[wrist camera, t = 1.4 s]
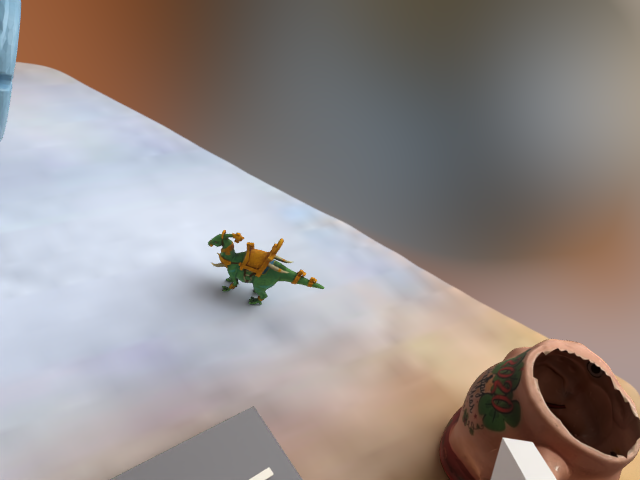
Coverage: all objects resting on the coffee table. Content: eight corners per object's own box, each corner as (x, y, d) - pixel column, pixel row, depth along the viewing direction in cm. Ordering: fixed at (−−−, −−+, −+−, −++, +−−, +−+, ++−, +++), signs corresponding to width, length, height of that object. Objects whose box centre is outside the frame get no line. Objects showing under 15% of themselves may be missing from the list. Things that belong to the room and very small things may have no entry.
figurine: (204, 263, 53) (223, 203, 48) (310, 308, 54) (340, 254, 49) (192, 282, 51) (211, 222, 46) (304, 329, 52) (334, 274, 47)
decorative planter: (524, 642, 37) (671, 582, 29) (384, 533, 40) (483, 447, 31) (553, 440, 53) (654, 363, 45) (451, 369, 55) (529, 283, 47)
